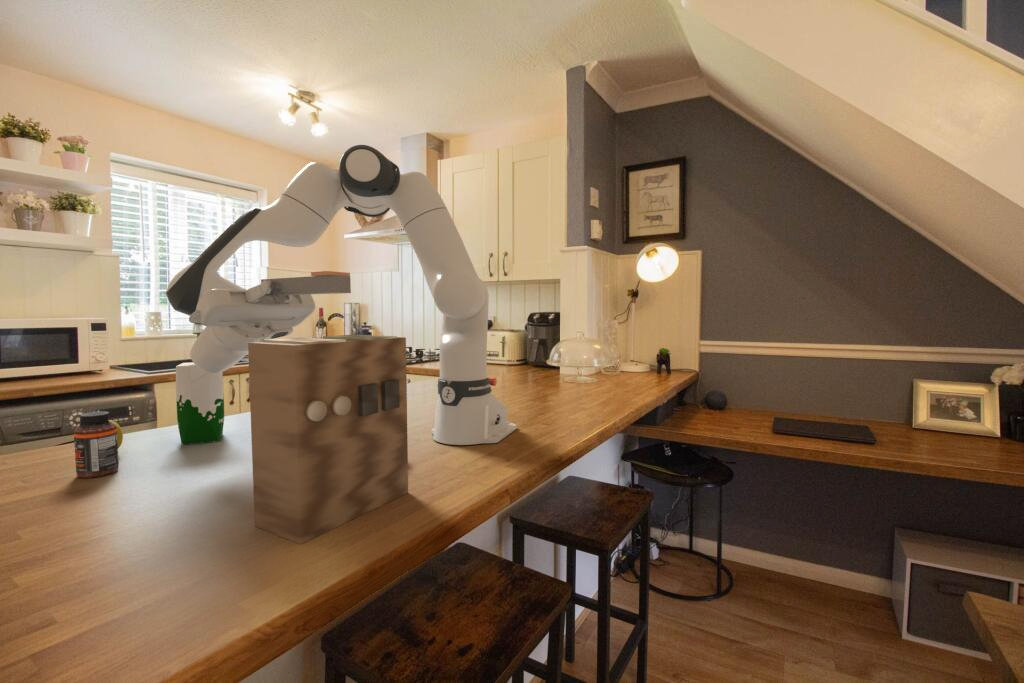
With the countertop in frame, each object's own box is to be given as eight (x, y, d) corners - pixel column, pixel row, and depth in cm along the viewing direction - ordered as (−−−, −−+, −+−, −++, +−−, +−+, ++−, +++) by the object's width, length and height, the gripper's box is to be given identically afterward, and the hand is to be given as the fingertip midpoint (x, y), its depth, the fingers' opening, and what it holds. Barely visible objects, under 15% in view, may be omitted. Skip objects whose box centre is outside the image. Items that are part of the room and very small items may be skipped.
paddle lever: (280, 295, 88) (279, 277, 87) (354, 293, 78) (354, 272, 77) (257, 295, 84) (256, 275, 84) (332, 292, 74) (331, 270, 73)
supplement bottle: (70, 475, 86) (66, 414, 85) (110, 466, 91) (106, 408, 90) (85, 481, 83) (81, 418, 82) (125, 471, 88) (122, 411, 87)
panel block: (365, 481, 83) (362, 334, 81) (412, 493, 77) (410, 335, 76) (254, 526, 66) (247, 340, 64) (305, 546, 60) (299, 343, 58)
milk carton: (222, 441, 108) (218, 355, 107) (174, 446, 104) (170, 356, 103) (227, 432, 116) (224, 352, 114) (183, 437, 112) (179, 353, 111)
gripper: (179, 308, 82) (214, 264, 75) (286, 308, 99) (323, 273, 93) (190, 340, 81) (227, 298, 74) (297, 334, 98) (334, 300, 92)
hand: (281, 284), depth 84 cm, fingers closed on paddle lever, 3 cm apart
